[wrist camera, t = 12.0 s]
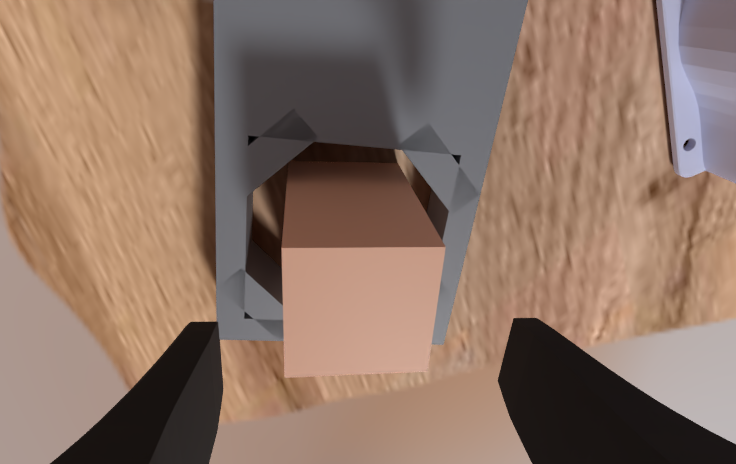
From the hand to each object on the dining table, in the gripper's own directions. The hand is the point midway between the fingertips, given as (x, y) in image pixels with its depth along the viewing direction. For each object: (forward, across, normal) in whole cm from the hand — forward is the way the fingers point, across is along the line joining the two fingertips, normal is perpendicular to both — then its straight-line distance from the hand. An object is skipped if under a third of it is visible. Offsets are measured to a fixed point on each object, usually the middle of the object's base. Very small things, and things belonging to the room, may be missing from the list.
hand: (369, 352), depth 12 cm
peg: (+8, 0, 0) cm, 9 cm away
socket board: (+8, 0, -4) cm, 9 cm away
